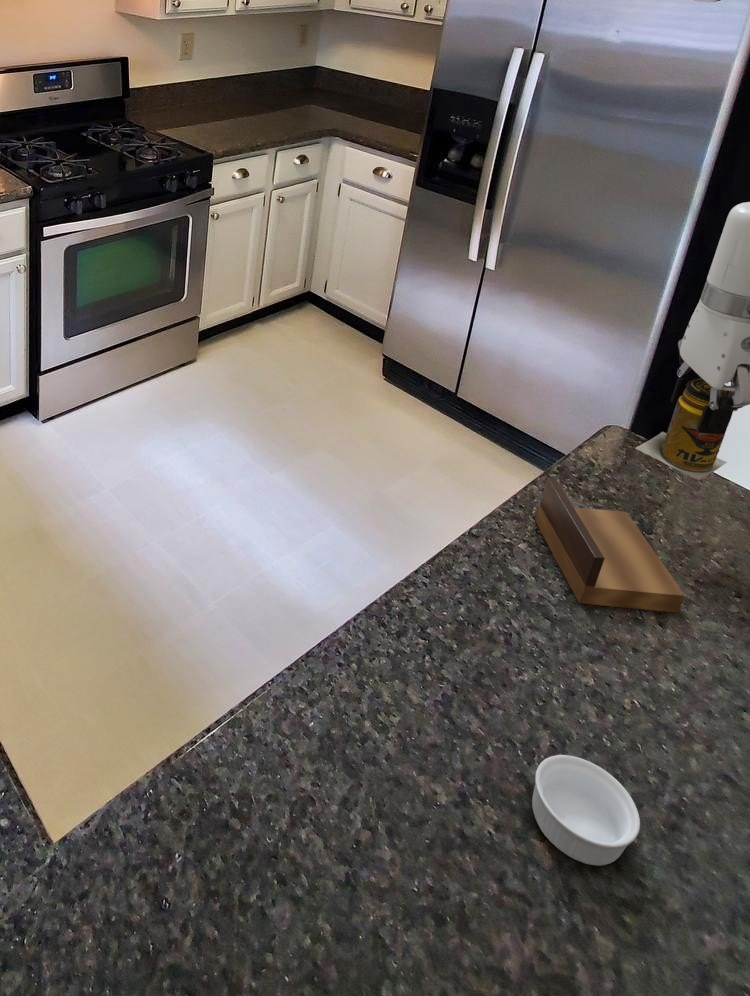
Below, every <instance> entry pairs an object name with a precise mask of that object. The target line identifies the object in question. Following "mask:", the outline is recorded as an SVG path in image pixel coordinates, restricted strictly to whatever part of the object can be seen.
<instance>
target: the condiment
mask: <svg viewBox="0 0 750 996" xmlns="http://www.w3.org/2000/svg"><path fill="white" fill-rule="evenodd" d="M724 386H727V385H726V384H724ZM710 390H711V386H710V385H709V384H708V383H707V382H706V381H705V380H703V379H702V378H698V379H692V380H690V381H689V382H688V383H687V385H686V389H685V390H684V392H683V395H682V396H680V397H679V399H678V401H677V404H676V405H675V408H674V411H673V414H672V417H671V420H670V423H669V425H668V428H667V431H666V432H664V431H661V432H660V433H659V434H657V435H655V436H654V437H652V438H650V439H649V440H647V441H646V442H644V443H641V444H640V445H637V446H636V447H634V449H636V450H637V451H639V452H642V454H645V455H648V456H650V457H652V458H653V459H655V460H658V461H659V462H662V463H663V464H665V465H667V467H668V466H669V467H670V468H672V469H675V470H677V471H678V472H680V473H682V474H685V475H688V476H689V477H690V478H693V479H695V480H698V481H701V480H703V479H704V478H706V477H708V476H709V475H711V474H712V473H714V472H715V471H717V470H719V469H720V468H722V467H723V466H724V465H726V464H727V463H728V461H726V460H724V459H721V458H719V457H718V454H719V452H720V448H721V447H722V444H723V440H724V438H725V436H726V432H725V433H724V434H711V433H700V432H699V431H698V430H697V426H698V423H699V421H700V418H701V415H702V412H703V409H704V407H705V405H709V403H710ZM726 397H729V391H721V393H720V400H721V399H723V398H726ZM732 416H733V415H732ZM732 416H731V419H730V421H729V424H728V426H729V425H730V422H731V420H732ZM727 430H728V428H727V429H726V431H727Z"/></svg>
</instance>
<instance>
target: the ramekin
mask: <svg viewBox="0 0 750 996" xmlns="http://www.w3.org/2000/svg"><path fill="white" fill-rule="evenodd" d="M531 807H532V811H533V815H534V819H535V821H536V824H537V825H538V828H539V830H541V832H542V833H543V835H544V837H546V839H547V840H548V841H549V842H550V843H551V844H552V845H553V846H555V848H557V849H558V850H559V851H561V852H562V853H563V854H565V855H566V856H568V857H569V858H571V859H573V860H575V861H577V862H580V863H583V864H586V865H590V866H607V865H610V864H612V863H614V862H615V861H616V860H617V859H619V858H620V857H621V856H622V854H623V853H624V851H625V849H626V848H627V847H628V846H629V845H631V844H632V843H633V842H634V841H635V840H636V838H637V837H638V836H639V833H640V829H641V819H640V815H639V814H640V813H639V811H638V808H637V805H636V803H635V801H634V800H633V798H632V796H631V795H630V793H629V792H628V791H627V789H626V788H625V787H624V786H623V785H622V784H621V783H620V782H619V780H617V779H616V778H615V777H614V776H613V775H612V774H611V773H609V772H608V771H607V770H605V769H604V768H602V767H601V766H599V765H597V764H595V763H593V762H591V761H589V760H586V759H585V758H582V757H578V756H574V755H568V754H557V755H552V756H548V757H547V758H544V759H543V760H542V761H541V762H540V763H539V764H538V766H537V768H536V771H535V777H534V789H533V794H532V799H531Z"/></svg>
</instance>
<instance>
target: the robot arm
mask: <svg viewBox="0 0 750 996" xmlns="http://www.w3.org/2000/svg"><path fill="white" fill-rule="evenodd" d="M677 346H678V353H679V356H678V361H679V368H678V369H677V372H676V374H677V380H676V383H675V386H674V388H673V392H672V395H671V397H670V402H671V404H673V405H675V406H676V404H677V401H678V399H679V397H680V396H682V395H683V392H684V390H685V389H686V385H687V383H688V382H689V381H690V380H692V379H698V378H701V379H703V380H705V381H706V382H707V383H708V384H709V385H710V386H711V390H710V403H709V405H705V407H704V409H703V412H702V415H701V418H700V421H699V423H698V426H697V430H698V431H699V432H700V433H711V434H724V433H725V434H726V432H727V430H728V427H729V425H730V422H731V420H732V417H731V416H733V413H734V412H737V411H738V410H739V409H742V408H744V407H747V406H749V405H750V201H747V202H741V203H739V204H736V205H734V206H733V207H732V208H731V209H730V211H729V212H728V215H727V217H726V221H725V223H724V226H723V229H722V233H721V235H720V238H719V241H718V244H717V247H716V250H715V254H714V256H713V259H712V262H711V265H710V267H709V271H708V274H707V277H706V280H705V283H704V286H703V290H702V291H701V295H700V298H699V301H698V303H697V305H696V307H695V309H694V312H693V313H692V315H691V317H690V320H689V322H688V325H687V327H686V329H685V332H684V335H683V337H682V338H681V339H679V340H678V342H677ZM729 383H730V385H726V384H729ZM724 385H726V386H724ZM721 391H729V397H726V398H723V399H721V400H720V393H721ZM730 419H731V420H730ZM729 421H730V422H729ZM728 424H729V425H728ZM726 429H727V430H726Z"/></svg>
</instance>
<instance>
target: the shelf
mask: <svg viewBox="0 0 750 996" xmlns="http://www.w3.org/2000/svg"><path fill="white" fill-rule="evenodd" d="M534 521H535V524H536V525H537V527H538V529H539V531H540V533H541V534H542V536H543V539H544V540H545V542H546V544H547V546H548V547H549V550H550V552H551V553H552V555H553V558H554V559H555V561H556V563H557V564H558V566H559V568H560V570H561V572H562V574H563V576H564V578H565V579H566V581H567V583H568V585H569V587H570V589H571V591H572V593H573V594H574V596H575V598H576V600H577V602H578V604H583V605H593V606H602V607H603V606H605V607H614V608H623V609H624V608H625V609H635V610H636V609H637V610H645V611H657V612H666V613H677V614H678V613H679V612H680V609H681V607H682V605H683V602H684V600H685V597H686V595H685V594H684V592H683V591H682V589H681V588H680V586H679V585H678V583H677V582H676V581H675V579H674V578H673V576H672V574H670V572H669V570H668V569H667V567H666V566H665V565H664V563H663V562H662V561H661V559H660V557H659V556H658V555H657V553H656V552H655V550H654V548H652V546H651V544H650V543H649V542H648V540H647V539H646V537H645V536H644V535H643V533H642V531H641V530H640V529H639V527H638V525H637V524H636V523H635V522H634V520H633V519H632V517H631V516H630V514H629V513H628V512H627V511H624V510H623V511H622V510H610V509H599V508H587V507H575V506H574V505H573V504H572V501H570V499H569V497H568V496H567V494H566V492H565V490H564V489H563V487H562V486H561V484H560V482H559V481H558V479H557V478H555V477H547V478H546V481H545V485H544V488H543V491H542V496H541V498H540V501H539V505H538V508H537V511H536V514H535V519H534Z"/></svg>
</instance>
